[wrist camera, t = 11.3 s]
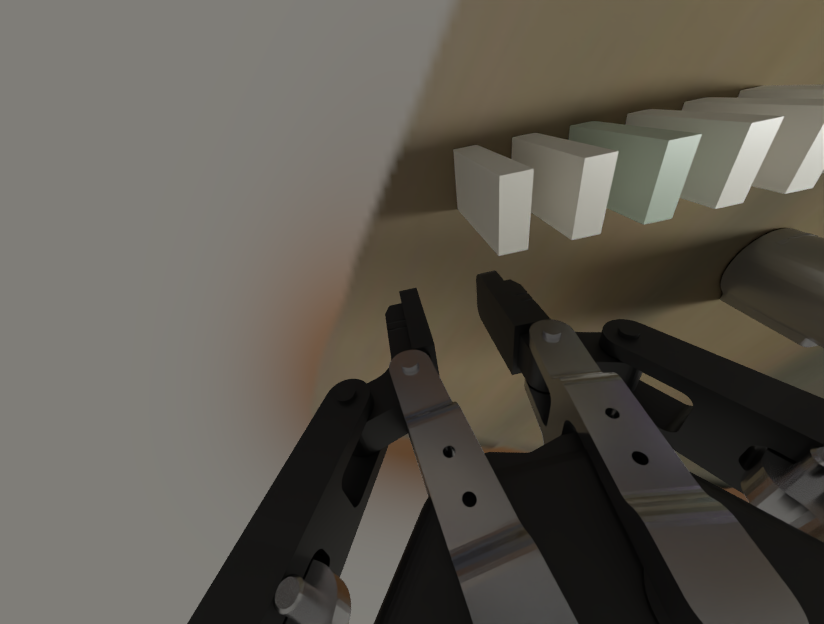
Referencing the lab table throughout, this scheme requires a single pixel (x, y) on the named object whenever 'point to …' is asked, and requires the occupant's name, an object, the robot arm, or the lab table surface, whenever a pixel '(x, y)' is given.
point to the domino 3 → (642, 166)
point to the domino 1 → (494, 197)
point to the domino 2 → (567, 182)
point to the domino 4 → (717, 150)
